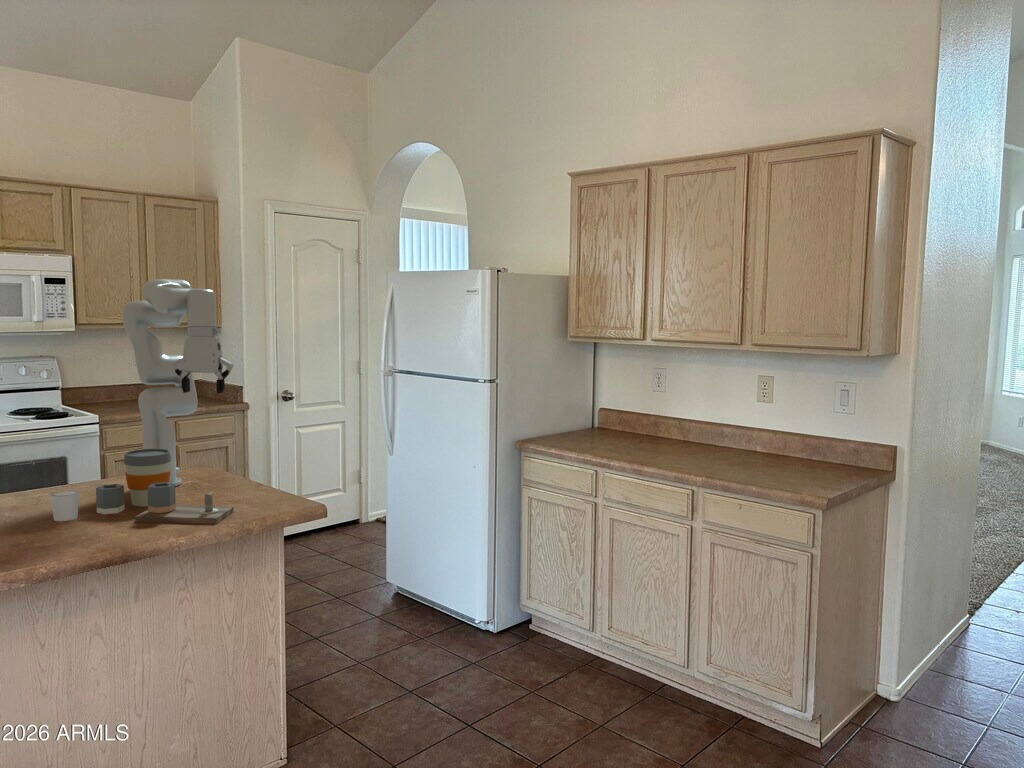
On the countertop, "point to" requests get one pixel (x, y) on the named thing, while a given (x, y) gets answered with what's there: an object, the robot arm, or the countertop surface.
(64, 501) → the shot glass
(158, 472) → the reusable coffee cup
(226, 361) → the robot arm
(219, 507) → the pin board
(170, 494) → the terracotta-banded sleeve
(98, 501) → the cream-banded sleeve
